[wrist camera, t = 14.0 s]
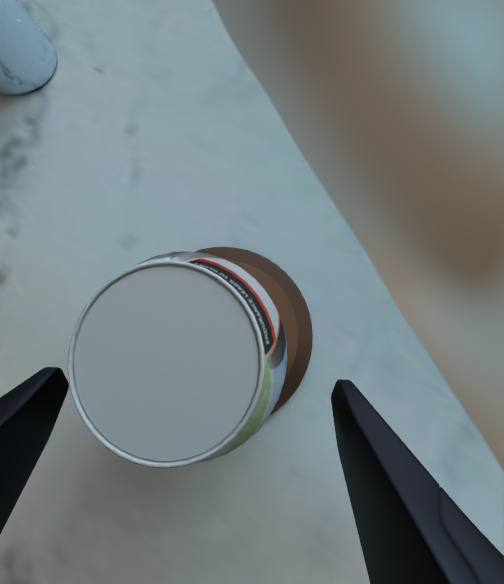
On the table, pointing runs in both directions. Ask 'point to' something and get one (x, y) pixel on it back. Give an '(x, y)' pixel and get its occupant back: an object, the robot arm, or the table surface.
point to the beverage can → (177, 360)
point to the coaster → (279, 311)
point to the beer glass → (23, 51)
